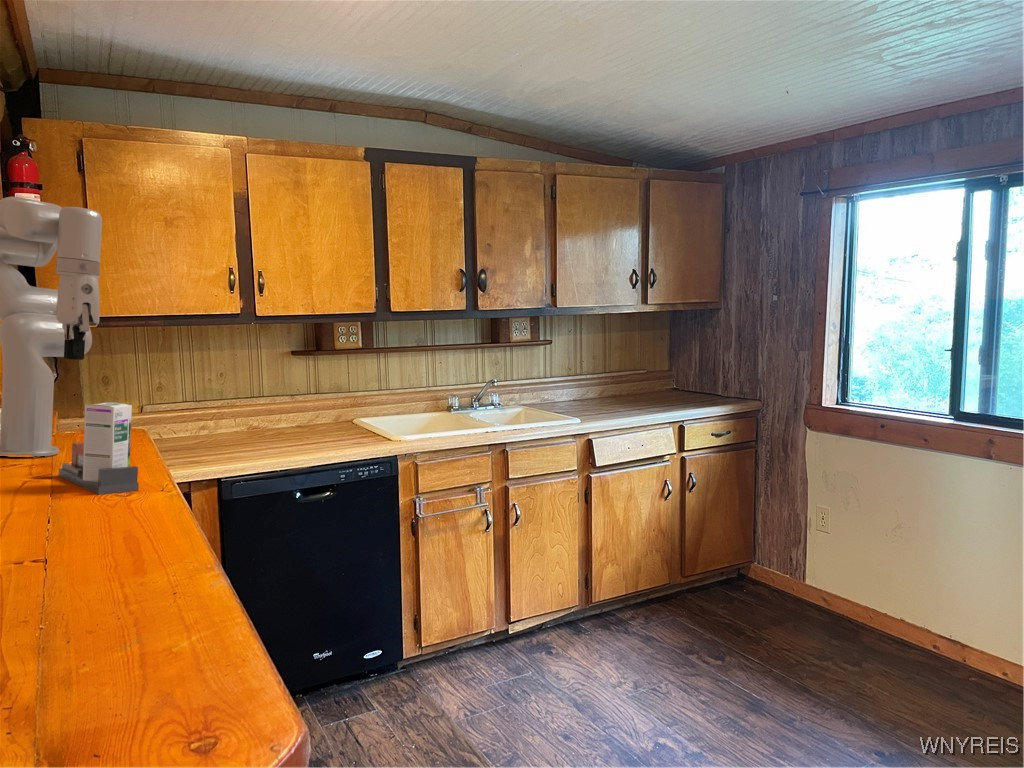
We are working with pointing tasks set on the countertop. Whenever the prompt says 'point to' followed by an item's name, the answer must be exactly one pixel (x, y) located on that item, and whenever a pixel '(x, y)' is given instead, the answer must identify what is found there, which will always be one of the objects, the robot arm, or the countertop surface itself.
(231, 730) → the countertop surface
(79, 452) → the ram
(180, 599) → the countertop surface
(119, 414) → the syrup box
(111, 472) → the press bed
